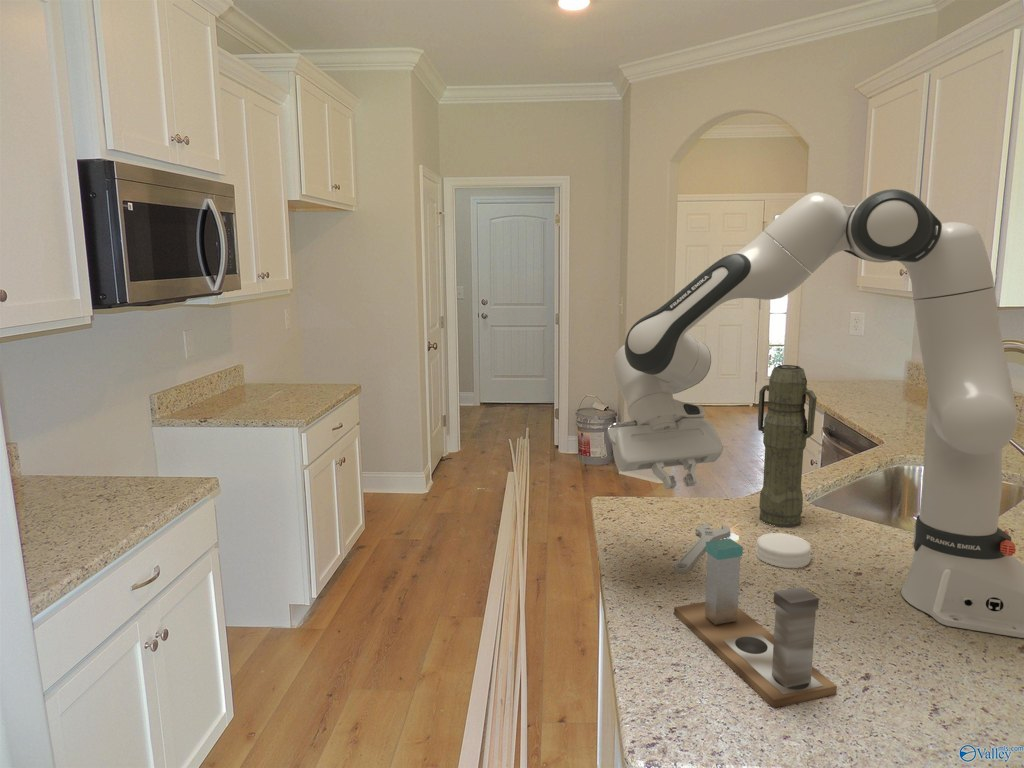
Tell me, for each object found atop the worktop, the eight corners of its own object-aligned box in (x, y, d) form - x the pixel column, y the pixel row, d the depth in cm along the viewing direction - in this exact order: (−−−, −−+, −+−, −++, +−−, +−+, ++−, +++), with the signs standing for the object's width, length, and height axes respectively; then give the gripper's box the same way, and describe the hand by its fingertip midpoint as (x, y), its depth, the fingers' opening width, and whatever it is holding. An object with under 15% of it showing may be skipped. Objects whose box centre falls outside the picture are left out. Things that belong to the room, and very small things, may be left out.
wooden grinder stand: (674, 613, 116) (676, 535, 114) (726, 604, 119) (729, 528, 117) (773, 708, 92) (779, 611, 89) (836, 693, 95) (843, 599, 92)
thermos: (803, 532, 150) (814, 371, 143) (747, 521, 156) (755, 367, 150) (812, 519, 157) (822, 365, 151) (758, 509, 163) (766, 362, 157)
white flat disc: (800, 574, 131) (801, 556, 130) (748, 560, 137) (748, 543, 136) (817, 556, 138) (818, 540, 137) (767, 544, 144) (767, 528, 144)
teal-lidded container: (703, 615, 113) (705, 541, 111) (726, 611, 114) (730, 538, 112) (714, 625, 110) (718, 550, 107) (739, 621, 111) (742, 546, 109)
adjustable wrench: (685, 577, 131) (685, 569, 130) (654, 569, 134) (654, 560, 134) (733, 534, 150) (734, 526, 150) (705, 528, 154) (705, 520, 154)
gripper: (609, 414, 123) (633, 484, 116) (710, 406, 129) (739, 471, 122) (599, 433, 128) (621, 500, 121) (697, 424, 134) (724, 488, 127)
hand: (681, 486), depth 121 cm, fingers open, 3 cm apart
